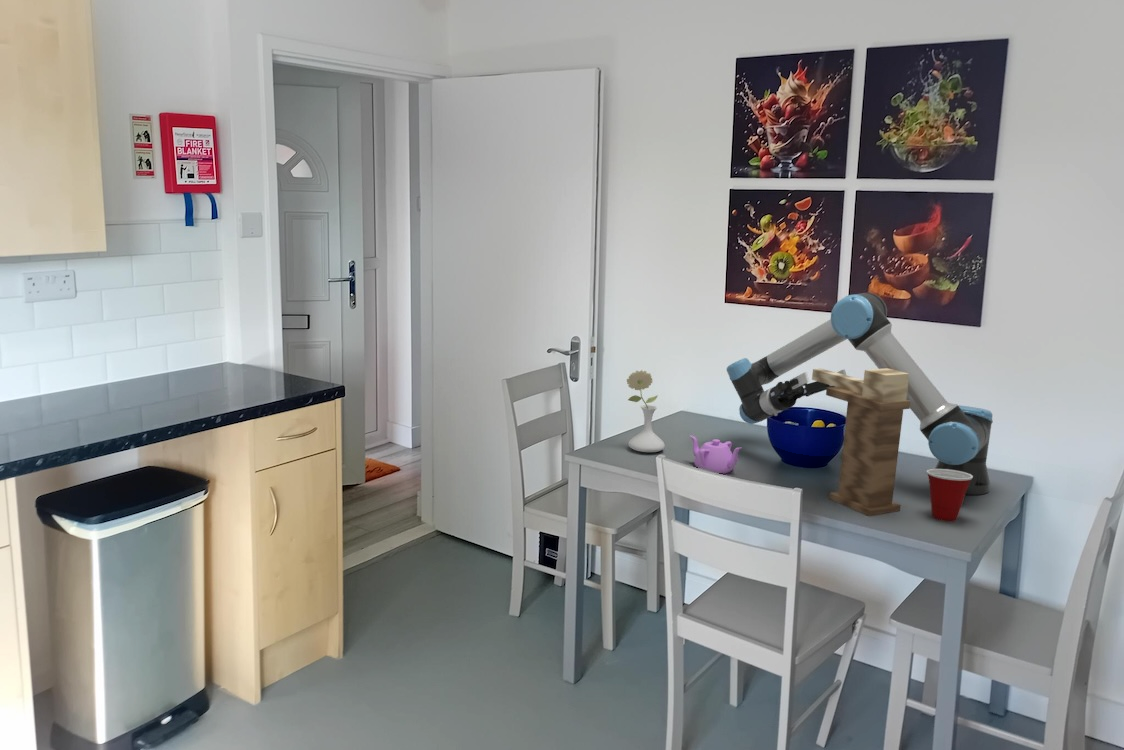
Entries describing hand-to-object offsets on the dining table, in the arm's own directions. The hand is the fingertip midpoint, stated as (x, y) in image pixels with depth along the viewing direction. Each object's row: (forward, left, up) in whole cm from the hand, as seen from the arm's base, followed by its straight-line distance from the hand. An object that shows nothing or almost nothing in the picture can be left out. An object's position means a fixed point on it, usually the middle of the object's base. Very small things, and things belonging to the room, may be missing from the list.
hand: (826, 375), depth 240 cm
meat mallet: (-8, +6, -2) cm, 10 cm away
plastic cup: (-33, +11, -31) cm, 47 cm away
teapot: (+29, +1, -31) cm, 42 cm away
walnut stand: (-11, +9, -31) cm, 34 cm away
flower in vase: (+53, -7, -31) cm, 62 cm away
